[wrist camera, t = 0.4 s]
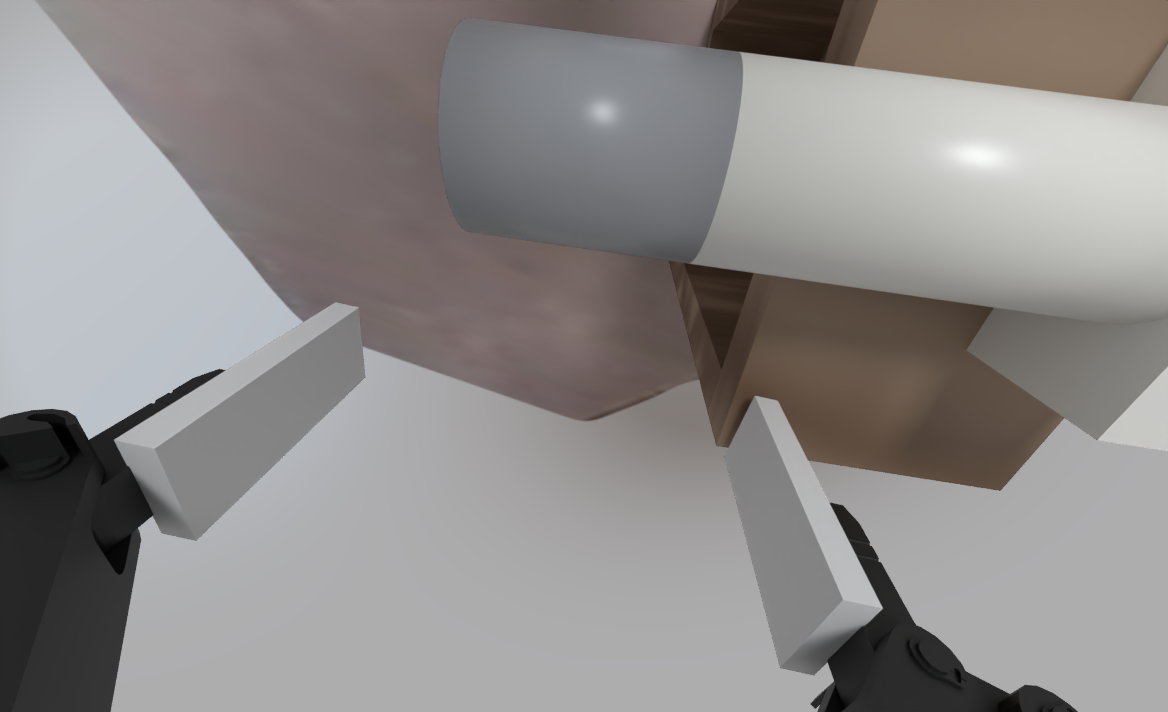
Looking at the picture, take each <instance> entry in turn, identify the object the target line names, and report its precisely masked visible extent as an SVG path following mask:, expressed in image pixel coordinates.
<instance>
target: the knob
mask: <svg viewBox="0 0 1168 712" xmlns="http://www.w3.org/2000/svg"><path fill="white" fill-rule="evenodd" d="M438 134H439V151H440V161H441V169H442V175H443V181H444V186H445V190H446V194H447V198H448V201H449V204H450V207H451V210H452V212H453V214H454V217H455V218H456V220H457V222H458V223H459V225H460V226H461V227H462V228H463V229H464V230H466V231H468V232H473V233H480V234H487V235H494V236H501V237H508V238H515V239H522V240H529V241H536V242H543V243H550V244H557V245H563V246H570V247H577V248H584V249H591V250H598V251H605V252H612V253H619V254H626V255H633V256H640V257H647V258H654V259H661V260H668V261H675V262H681V263H688V264H695V265H702V266H709V267H716V268H723V269H730V270H737V271H744V272H751V273H758V274H765V275H772V276H779V277H786V278H793V279H799V280H806V281H813V282H820V283H827V284H834V285H841V286H848V287H855V288H862V289H869V290H876V291H883V292H890V293H897V294H904V295H911V296H917V297H924V298H931V299H938V300H945V301H952V302H959V303H966V304H973V305H980V306H987V307H994V308H993V310H992V312H991V313H990V315H989V316H988V318H987V319H986V321H985V322H984V324H983V325H982V327H981V328H980V330H979V331H978V333H977V334H976V336H975V337H974V339H973V340H972V342H971V343H970V345H969V346H968V348H967V349H966V351H968V352H969V353H971V354H972V355H974V356H975V357H977V358H978V359H980V360H981V361H982V362H984V363H985V364H987V365H988V366H990V367H991V368H993V369H994V370H996V371H997V372H998V373H1000V374H1001V375H1003V376H1004V377H1006V378H1007V379H1009V380H1010V381H1012V382H1013V383H1014V384H1016V385H1017V386H1019V387H1020V388H1022V389H1023V390H1025V391H1026V392H1028V393H1029V394H1030V395H1032V396H1033V397H1035V398H1036V399H1038V400H1039V401H1041V402H1042V403H1044V404H1045V405H1046V406H1048V407H1049V408H1051V409H1052V410H1054V411H1055V412H1057V413H1058V414H1060V415H1061V416H1062V417H1064V418H1065V419H1067V420H1068V421H1070V422H1071V423H1073V424H1074V425H1076V426H1077V427H1078V428H1080V429H1081V430H1083V431H1084V432H1086V433H1087V434H1089V435H1090V436H1092V437H1093V438H1094V439H1096V440H1099V441H1105V442H1111V443H1119V444H1125V445H1131V446H1138V447H1145V448H1151V449H1157V450H1164V451H1168V45H1167V46H1166V48H1165V49H1164V51H1163V52H1162V54H1161V55H1160V57H1159V58H1158V60H1157V61H1156V63H1155V64H1154V66H1153V67H1152V69H1151V70H1150V72H1149V73H1148V75H1147V76H1146V78H1145V79H1144V81H1143V82H1142V84H1141V85H1140V87H1139V89H1138V90H1137V92H1136V93H1135V95H1134V96H1133V98H1132V99H1131V101H1122V100H1114V99H1106V98H1098V97H1090V96H1082V95H1074V94H1067V93H1059V92H1051V91H1043V90H1035V89H1027V88H1019V87H1012V86H1004V85H996V84H988V83H980V82H972V81H964V80H957V79H949V78H941V77H933V76H925V75H917V74H909V73H902V72H894V71H886V70H878V69H870V68H862V67H854V66H846V65H839V64H831V63H823V62H815V61H807V60H799V59H791V58H784V57H776V56H768V55H760V54H752V53H744V52H736V51H729V50H721V49H713V48H705V47H697V46H689V45H681V44H673V43H666V42H658V41H650V40H642V39H634V38H626V37H618V36H611V35H603V34H595V33H587V32H579V31H571V30H563V29H556V28H548V27H540V26H532V25H524V24H516V23H508V22H501V21H493V20H485V19H477V18H465V19H463V20H462V21H460V23H459V24H458V25H457V26H456V28H455V30H454V31H453V33H452V35H451V38H450V41H449V43H448V46H447V50H446V54H445V58H444V63H443V68H442V74H441V82H440V91H439V106H438Z"/></svg>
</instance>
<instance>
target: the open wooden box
mask: <svg viewBox="0 0 1168 712" xmlns="http://www.w3.org/2000/svg"><path fill="white" fill-rule="evenodd" d="M1167 45H1168V0H717V3H716V8H715V13H714V17H713V22H712V27H711V31H710V36H709V41H708V45H707V48H713V49H721V50H729V51H736V52H744V53H752V54H760V55H768V56H776V57H784V58H791V59H799V60H807V61H815V62H823V63H831V64H839V65H846V66H854V67H862V68H870V69H878V70H886V71H894V72H902V73H909V74H917V75H925V76H933V77H941V78H949V79H957V80H964V81H972V82H980V83H988V84H996V85H1004V86H1012V87H1019V88H1027V89H1035V90H1043V91H1051V92H1059V93H1067V94H1074V95H1082V96H1090V97H1098V98H1106V99H1114V100H1122V101H1131V99H1132V98H1133V96H1134V95H1135V93H1136V92H1137V90H1138V89H1139V87H1140V85H1141V84H1142V82H1143V81H1144V79H1145V78H1146V76H1147V75H1148V73H1149V72H1150V70H1151V69H1152V67H1153V66H1154V64H1155V63H1156V61H1157V60H1158V58H1159V57H1160V55H1161V54H1162V52H1163V51H1164V49H1165V48H1166V46H1167ZM669 263H670V267H671V271H672V275H673V279H674V283H675V286H676V290H677V294H678V298H679V302H680V306H681V310H682V314H683V318H684V322H685V325H686V329H687V333H688V337H689V341H690V345H691V349H692V353H693V357H694V361H695V365H696V368H697V372H698V376H699V380H700V384H701V388H702V392H703V396H704V400H705V404H706V407H707V411H708V415H709V419H710V423H711V427H712V431H713V435H714V438H715V443H716V446H721V447H727V448H729V446H730V444H731V442H732V440H733V438H734V436H735V434H736V432H737V430H738V428H739V426H740V424H741V422H742V420H743V418H744V416H745V414H746V412H747V410H748V408H749V406H750V404H751V402H752V400H753V398H754V396H759V397H763V398H768V399H772V400H777V401H778V402H779V404H780V406H781V408H782V410H783V412H784V414H785V416H786V418H787V420H788V422H789V424H790V426H791V428H792V430H793V432H794V434H795V436H796V438H797V440H798V442H799V444H800V446H801V448H802V450H803V452H804V454H805V456H806V458H807V460H809V461H816V462H822V463H828V464H835V465H841V466H848V467H854V468H860V469H866V470H873V471H879V472H885V473H892V474H898V475H905V476H911V477H917V478H924V479H930V480H936V481H942V482H949V483H955V484H961V485H968V486H974V487H981V488H987V489H993V490H999V491H1000V490H1001V489H1002V488H1003V487H1004V486H1005V485H1006V484H1007V483H1008V481H1009V480H1010V479H1011V478H1012V477H1013V476H1014V475H1015V474H1016V472H1017V471H1018V470H1019V469H1020V468H1021V467H1022V466H1023V464H1024V463H1025V462H1026V461H1027V460H1028V459H1029V458H1030V457H1031V455H1032V454H1033V453H1034V452H1035V451H1036V450H1037V448H1038V447H1039V446H1040V445H1041V444H1042V443H1043V442H1044V441H1045V439H1046V438H1047V437H1048V436H1049V435H1050V434H1051V432H1052V431H1053V430H1054V429H1055V428H1056V427H1057V426H1058V425H1059V423H1060V422H1061V421H1062V420H1063V419H1064V417H1062V416H1061V415H1060V414H1058V413H1057V412H1055V411H1054V410H1052V409H1051V408H1049V407H1048V406H1046V405H1045V404H1044V403H1042V402H1041V401H1039V400H1038V399H1036V398H1035V397H1033V396H1032V395H1030V394H1029V393H1028V392H1026V391H1025V390H1023V389H1022V388H1020V387H1019V386H1017V385H1016V384H1014V383H1013V382H1012V381H1010V380H1009V379H1007V378H1006V377H1004V376H1003V375H1001V374H1000V373H998V372H997V371H996V370H994V369H993V368H991V367H990V366H988V365H987V364H985V363H984V362H982V361H981V360H980V359H978V358H977V357H975V356H974V355H972V354H971V353H969V352H968V351H966V349H967V348H968V346H969V345H970V343H971V342H972V340H973V339H974V337H975V336H976V334H977V333H978V331H979V330H980V328H981V327H982V325H983V324H984V322H985V321H986V319H987V318H988V316H989V315H990V313H991V312H992V310H993V308H994V307H987V306H980V305H973V304H966V303H959V302H952V301H945V300H938V299H931V298H924V297H917V296H911V295H904V294H897V293H890V292H883V291H876V290H869V289H862V288H855V287H848V286H841V285H834V284H827V283H820V282H813V281H806V280H799V279H793V278H786V277H779V276H772V275H765V274H758V273H751V272H744V271H737V270H730V269H723V268H716V267H709V266H702V265H695V264H688V263H681V262H675V261H669Z"/></svg>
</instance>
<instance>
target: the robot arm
mask: <svg viewBox="0 0 1168 712" xmlns="http://www.w3.org/2000/svg"><path fill="white" fill-rule="evenodd" d="M364 378H365V369H364V359H363V347H362V337H361V326H360V315H359V307H354V306H350V305H345V304H341V303H336V302H335V303H334V304H332V305H331V306H329V307H327V308H326V309H324V310H322V311H321V312H319V313H318V314H316V315H314V316H313V317H311V318H310V319H308V320H306V321H305V322H303V323H301V324H300V325H299V326H297V327H295V328H293V329H292V330H290V331H289V332H287V333H285V334H284V335H282V336H281V337H279V338H277V339H276V340H274V341H273V342H271V343H269V344H268V345H266V346H264V347H263V348H261V349H260V350H258V351H256V352H255V353H253V354H252V355H250V356H248V357H247V358H245V359H243V360H242V361H240V362H239V363H237V364H235V365H234V366H232V367H231V368H229V369H227V370H222V369H218V370H215V371H212V372H209V373H206V374H204V375H201V376H198V377H195V378H193V379H191V380H189V381H188V382H186V383H185V384H183V385H181V386H179V387H178V388H176V389H174V390H173V392H172V393H167V394H166V395H164V396H162V397H161V398H159V399H157V400H156V402H155V403H154V404H152V403H151V404H149V405H147V406H146V407H144V408H142V409H140V410H139V411H137V412H135V413H134V414H132V415H130V416H129V417H127V418H125V419H124V420H122V421H120V422H118V423H117V424H115V425H114V426H112V427H110V428H109V429H107V430H105V431H103V432H102V433H100V434H98V435H96V436H95V437H93V438H91V439H90V440H88V438H87V436H86V434H85V432H84V431H83V429H82V427H81V425H80V424H79V422H78V420H77V418H76V416H74V415H73V414H71V413H69V412H68V411H63V410H56V409H45V410H31V411H27V412H22V413H18V414H13V415H9V416H6V417H3V418H0V712H110V711H111V706H112V700H113V694H114V689H115V683H116V678H117V672H118V666H119V661H120V655H121V650H122V644H123V638H124V633H125V626H126V621H127V616H128V610H129V605H130V599H131V594H132V588H133V582H134V576H135V571H136V565H137V560H138V554H139V548H140V543H141V537H140V532H139V530H138V527H139V526H141V525H142V524H143V523H144V522H145V521H146V520H148V519H149V518H150V517H152V516H153V517H154V519H155V521H156V523H157V525H158V527H159V529H160V531H161V533H163V534H167V535H172V536H177V537H181V538H186V539H191V540H195V541H196V540H197V539H198V538H199V537H200V536H202V535H203V534H204V533H205V532H206V531H207V530H208V529H209V528H210V527H211V526H212V525H213V524H214V523H215V522H216V521H217V520H218V519H219V518H220V517H221V516H222V515H223V514H224V513H225V512H226V511H227V510H228V509H229V508H230V507H231V506H232V505H234V504H235V503H236V502H237V501H238V500H239V499H240V498H241V497H242V496H243V495H244V494H245V493H246V492H247V491H248V490H249V489H250V488H251V487H252V486H253V485H254V484H255V483H256V482H257V481H258V480H259V479H260V478H262V476H264V475H265V474H266V473H267V472H268V471H269V470H270V469H271V468H272V467H273V466H274V465H275V464H276V463H277V462H278V461H279V460H280V459H281V458H282V457H283V456H284V455H285V454H286V453H287V452H288V451H289V450H290V449H292V447H294V446H295V445H296V444H297V443H298V442H299V441H300V440H301V439H302V438H303V437H304V436H305V435H306V434H307V433H308V432H309V431H310V430H311V429H312V428H313V427H314V426H315V425H316V424H317V423H318V422H319V421H320V420H321V419H322V418H324V417H325V416H326V414H328V413H329V412H330V411H331V410H332V409H333V408H334V407H335V406H336V405H337V404H338V403H339V402H340V401H341V400H342V399H343V398H344V397H345V396H346V395H347V394H348V393H349V392H350V391H352V390H353V388H354V387H356V386H357V385H358V384H359V383H360V382H361V381H362V380H363V379H364ZM724 458H725V462H726V465H727V469H728V473H729V477H730V481H731V484H732V488H733V492H734V496H735V499H736V503H737V507H738V511H739V514H740V518H741V522H742V526H743V529H744V533H745V537H746V541H747V545H748V549H749V552H750V556H751V560H752V564H753V567H754V571H755V575H756V579H757V582H758V586H759V590H760V593H761V598H762V601H763V605H764V609H765V613H766V616H767V620H768V624H769V627H770V631H771V635H772V639H773V643H774V647H775V650H776V654H777V658H778V662H779V665H780V668H783V669H787V670H792V671H796V672H801V673H805V674H810V675H815V674H816V673H817V672H818V671H819V670H820V669H821V668H822V667H823V666H824V665H825V664H826V663H827V662H828V664H829V667H830V670H831V673H832V675H833V678H834V682H833V683H832V684H831V685H830V686H828V687H827V688H826V689H825V690H824V691H823V692H822V693H821V694H820V695H819V696H817V697H816V698H815V699H814V701H813V702H812V703H811V705H812V706H813V707H814V708H817V707H818V706H819V705H820V707H819V709H818V712H1077V711H1076V710H1075V709H1074V708H1073V707H1072V706H1071V705H1069V704H1068V703H1066V702H1065V701H1063V700H1062V699H1061V698H1059V697H1058V696H1056V695H1055V694H1053V693H1052V692H1049V691H1047V690H1045V689H1043V688H1040V687H1038V686H1031V685H1024V686H1023V687H1021V688H1019V689H1018V690H1016V691H1014V692H1013V693H1011V694H1009V693H1006V692H1005V691H1003V690H1001V689H999V688H997V687H995V686H993V685H991V684H989V683H987V682H985V681H983V680H981V679H979V678H977V677H976V676H974V675H972V674H970V673H968V672H966V671H965V669H964V667H963V665H962V664H961V662H960V661H959V660H958V659H957V657H956V656H955V655H954V654H953V652H952V651H951V650H950V649H949V648H948V647H947V646H946V645H945V644H944V643H942V642H941V641H940V640H939V639H938V638H937V637H936V636H934V635H932V634H931V633H929V632H928V631H926V630H924V629H923V628H921V627H919V626H916V624H915V623H914V621H913V620H912V618H911V616H910V614H909V612H908V611H907V609H906V607H905V605H904V603H903V601H902V599H901V598H900V596H899V594H898V592H897V590H896V589H895V587H894V585H893V583H892V582H891V580H890V578H889V576H888V574H887V572H886V571H885V569H884V567H883V565H882V563H881V562H879V561H878V559H879V558H878V556H877V554H876V553H875V551H874V549H873V547H872V546H870V544H869V543H870V542H869V540H868V538H867V536H866V535H865V533H864V531H863V529H862V528H861V526H860V524H859V523H858V521H857V520H856V519H855V518H854V517H853V516H852V515H851V514H850V513H849V512H848V511H847V510H846V508H845V507H844V506H843V505H838V504H834V503H829V501H828V499H827V497H826V495H825V493H824V491H823V489H822V488H821V485H820V483H819V481H818V479H817V477H816V476H815V474H814V471H813V470H812V467H811V466H810V464H809V462H808V460H807V458H806V456H805V454H804V452H803V450H802V448H801V446H800V444H799V442H798V440H797V438H796V436H795V434H794V432H793V430H792V428H791V426H790V424H789V422H788V420H787V418H786V416H785V414H784V412H783V410H782V408H781V406H780V404H779V402H778V401H777V400H772V399H768V398H763V397H759V396H754V398H753V400H752V402H751V404H750V406H749V408H748V410H747V412H746V414H745V416H744V418H743V420H742V422H741V424H740V426H739V428H738V430H737V432H736V434H735V436H734V438H733V440H732V442H731V444H730V446H729V448H728V450H727V452H726V454H725V456H724Z"/></svg>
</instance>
